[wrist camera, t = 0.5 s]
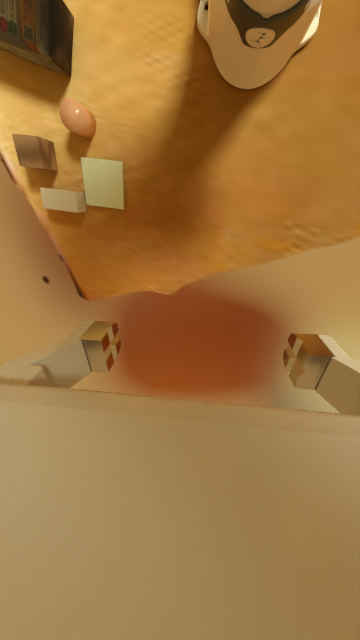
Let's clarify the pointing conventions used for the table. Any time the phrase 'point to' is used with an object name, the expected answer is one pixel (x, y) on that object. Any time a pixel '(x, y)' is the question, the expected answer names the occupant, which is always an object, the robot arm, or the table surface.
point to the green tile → (103, 182)
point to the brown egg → (77, 118)
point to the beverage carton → (38, 32)
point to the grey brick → (63, 200)
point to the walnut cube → (35, 152)
